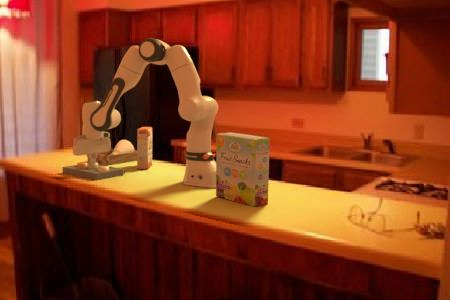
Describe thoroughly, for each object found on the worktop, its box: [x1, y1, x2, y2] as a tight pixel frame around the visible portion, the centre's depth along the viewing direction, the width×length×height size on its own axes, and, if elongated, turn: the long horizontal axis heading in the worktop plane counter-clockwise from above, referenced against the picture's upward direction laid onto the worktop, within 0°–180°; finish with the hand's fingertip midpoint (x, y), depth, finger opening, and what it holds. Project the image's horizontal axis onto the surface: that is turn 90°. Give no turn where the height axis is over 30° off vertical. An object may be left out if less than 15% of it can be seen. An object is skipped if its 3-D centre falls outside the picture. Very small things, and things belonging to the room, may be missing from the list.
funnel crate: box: [87, 148, 137, 166], centre depth 279 cm, size 17×25×5 cm
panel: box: [62, 164, 125, 181], centre depth 239 cm, size 26×16×3 cm, turn 53°
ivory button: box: [98, 165, 110, 172], centre depth 235 cm, size 5×5×4 cm
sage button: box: [87, 162, 99, 169], centre depth 239 cm, size 5×5×4 cm
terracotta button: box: [76, 161, 88, 168], centre depth 244 cm, size 5×5×4 cm
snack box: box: [215, 131, 271, 208], centre depth 191 cm, size 22×9×26 cm, turn 45°
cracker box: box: [136, 126, 153, 170], centre depth 259 cm, size 14×6×21 cm, turn 179°
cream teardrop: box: [109, 139, 135, 156], centre depth 279 cm, size 12×12×18 cm
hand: (92, 162), depth 239 cm, fingers closed, pressing on sage button
